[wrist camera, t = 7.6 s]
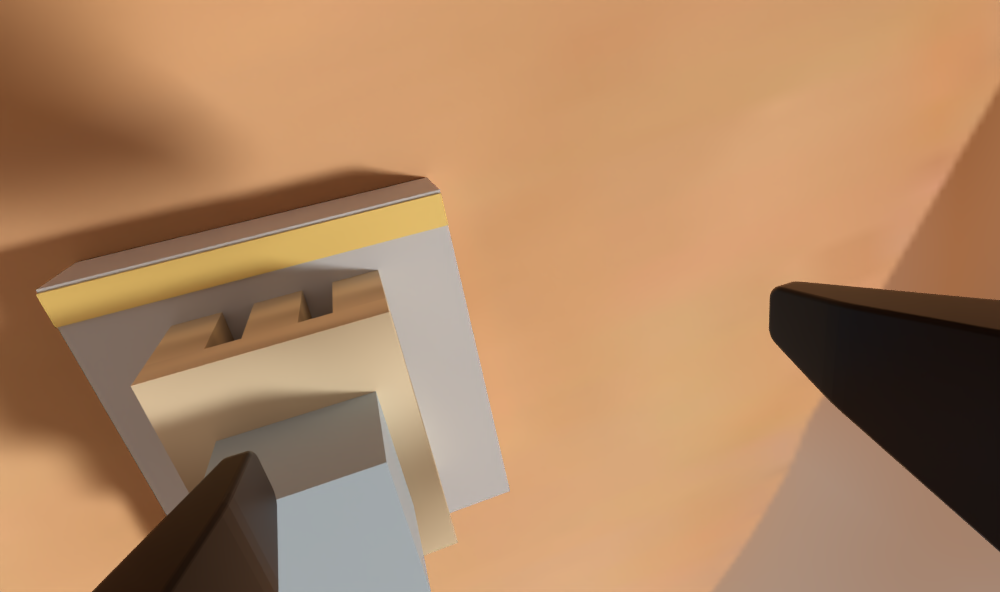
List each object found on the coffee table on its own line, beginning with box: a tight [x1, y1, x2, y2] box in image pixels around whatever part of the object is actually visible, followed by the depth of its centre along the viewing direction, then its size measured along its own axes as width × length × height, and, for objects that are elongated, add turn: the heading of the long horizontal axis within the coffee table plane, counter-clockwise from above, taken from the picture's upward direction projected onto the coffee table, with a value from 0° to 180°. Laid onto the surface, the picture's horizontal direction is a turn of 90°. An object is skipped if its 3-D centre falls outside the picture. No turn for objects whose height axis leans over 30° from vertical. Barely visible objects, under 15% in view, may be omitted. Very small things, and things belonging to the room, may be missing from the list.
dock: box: [36, 177, 510, 515], centre depth 19 cm, size 11×12×3 cm
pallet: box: [131, 270, 458, 555], centre depth 16 cm, size 8×6×4 cm
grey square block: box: [204, 391, 431, 592], centre depth 13 cm, size 4×4×3 cm
